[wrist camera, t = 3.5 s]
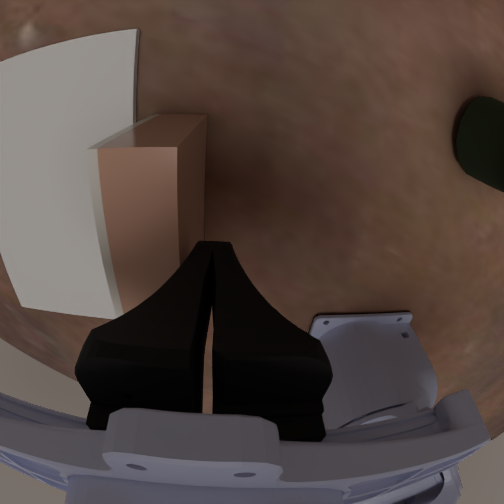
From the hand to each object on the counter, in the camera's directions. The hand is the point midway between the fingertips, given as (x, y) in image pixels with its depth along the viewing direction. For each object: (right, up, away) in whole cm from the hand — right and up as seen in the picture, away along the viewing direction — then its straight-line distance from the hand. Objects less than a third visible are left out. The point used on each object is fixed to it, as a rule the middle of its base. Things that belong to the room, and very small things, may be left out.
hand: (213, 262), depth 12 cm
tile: (-3, +4, +5) cm, 7 cm away
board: (-12, +4, +4) cm, 13 cm away
